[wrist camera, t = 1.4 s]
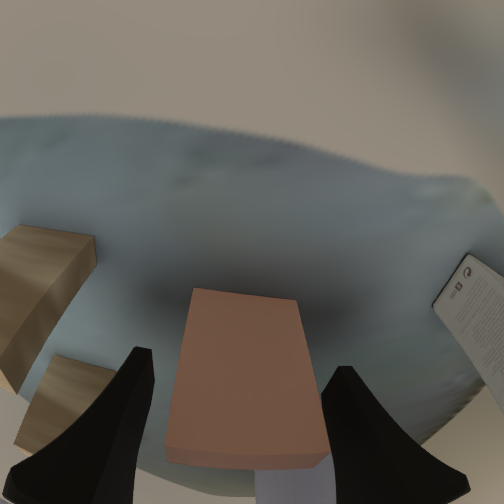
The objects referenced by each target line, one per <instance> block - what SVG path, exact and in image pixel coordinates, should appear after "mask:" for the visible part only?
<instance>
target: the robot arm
mask: <svg viewBox="0 0 504 504" xmlns="http://www.w3.org/2000/svg"><path fill="white" fill-rule="evenodd" d="M154 382H155V379H154V369H153V359H152V349H147V348H142V347H137V346H136V347H134V348H133V349H132V351H131V353H130V354H129V356H128V357H127V359H126V360H125V362H124V363H123V365H122V366H121V367H120V369H119V370H118V372H117V373H116V374H115V376H114V377H113V378H112V380H111V381H110V382H109V384H108V385H107V386H106V387H105V389H104V390H103V391H102V392H101V394H100V395H99V396H98V397H97V398H96V399H95V400H94V402H93V403H92V404H91V405H90V406H89V407H88V408H87V410H86V411H85V412H84V413H83V414H82V415H81V416H80V417H79V418H78V419H77V420H76V421H75V422H74V423H73V424H72V425H70V426H69V427H68V428H67V429H66V430H65V431H64V432H62V433H61V434H60V435H59V436H58V437H57V438H55V439H54V440H53V441H51V442H50V443H49V444H47V445H46V446H45V447H43V448H42V449H40V450H39V451H38V452H36V453H35V454H33V455H32V456H30V457H28V458H27V459H25V460H23V461H21V462H20V463H18V464H17V465H14V466H13V467H11V469H10V472H9V473H8V476H7V479H6V482H5V486H4V489H3V493H2V495H3V496H4V498H6V499H7V500H9V501H10V502H12V503H14V504H133V490H134V479H135V470H136V462H137V456H138V451H139V447H140V443H141V439H142V435H143V432H144V428H145V424H146V420H147V417H148V413H149V409H150V406H151V401H152V395H153V388H154ZM321 400H322V411H323V416H324V421H325V425H326V430H327V435H328V439H329V444H330V449H331V452H330V453H329V454H328V455H327V456H326V457H325V458H324V459H323V460H322V461H321V462H320V463H319V464H317V465H316V466H315V467H314V468H306V469H289V470H254V475H255V495H256V504H448V503H450V502H452V501H454V500H456V499H458V498H459V497H461V496H463V495H465V494H467V493H468V492H470V490H471V488H470V485H469V482H468V480H467V477H466V475H465V474H463V473H461V472H459V471H457V470H455V469H453V468H451V467H449V466H448V465H446V464H444V463H443V462H441V461H440V460H438V459H437V458H435V457H434V456H433V455H431V454H430V453H429V452H427V451H426V450H425V449H423V448H422V447H421V446H420V445H419V444H417V443H416V442H415V441H414V440H413V439H412V438H411V437H410V436H409V435H408V434H407V433H406V432H404V431H403V429H402V428H401V427H400V426H399V425H398V424H397V423H396V422H395V421H394V420H393V419H392V417H391V416H390V415H389V414H388V413H387V412H386V410H385V409H384V408H383V407H382V405H381V404H380V403H379V402H378V400H377V399H376V398H375V397H374V395H373V394H372V393H371V391H370V390H369V389H368V387H367V386H366V385H365V383H364V382H363V381H362V379H361V378H360V377H359V375H358V374H357V373H356V371H355V370H354V369H353V367H352V366H338V367H337V369H336V371H335V372H334V374H333V376H332V377H331V379H330V381H329V382H328V384H327V386H326V387H325V389H324V391H323V392H322V394H321ZM0 504H10V503H8V502H6V501H5V500H3V499H1V498H0Z"/></svg>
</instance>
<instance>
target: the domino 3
mask: <svg viewBox="0 0 504 504" xmlns="http://www.w3.org/2000/svg"><path fill="white" fill-rule="evenodd" d="M165 450H166V456H167V461H168V462H170V463H176V464H183V465H190V466H199V467H209V468H221V469H238V470H289V469H306V468H314V467H315V466H316V465H317V464H319V463H320V462H321V461H322V460H323V459H324V458H325V457H326V456H327V455H328V454H329V453H330V452H331V449H330V444H329V439H328V435H327V430H326V425H325V421H324V416H323V412H322V407H321V403H320V398H319V394H318V389H317V385H316V380H315V376H314V372H313V368H312V363H311V359H310V355H309V351H308V347H307V342H306V338H305V334H304V330H303V326H302V322H301V318H300V314H299V310H298V306H297V302H296V300H289V299H280V298H271V297H263V296H254V295H246V294H238V293H230V292H223V291H215V290H208V289H201V288H193V293H192V297H191V302H190V307H189V311H188V316H187V321H186V326H185V331H184V336H183V341H182V346H181V351H180V356H179V362H178V367H177V373H176V378H175V384H174V390H173V395H172V401H171V407H170V414H169V420H168V426H167V433H166V440H165Z"/></svg>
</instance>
